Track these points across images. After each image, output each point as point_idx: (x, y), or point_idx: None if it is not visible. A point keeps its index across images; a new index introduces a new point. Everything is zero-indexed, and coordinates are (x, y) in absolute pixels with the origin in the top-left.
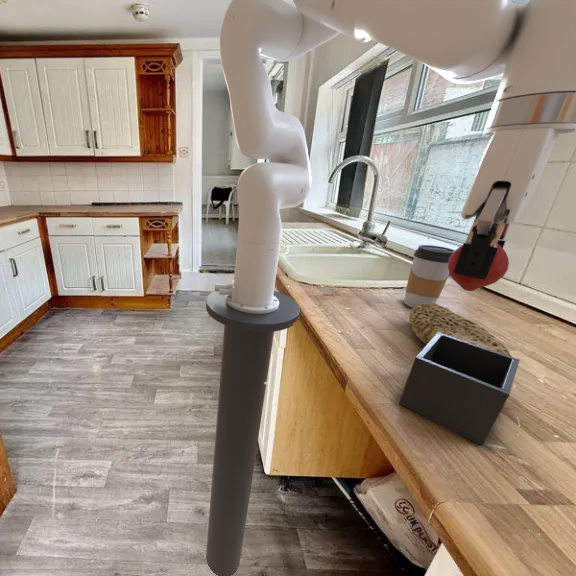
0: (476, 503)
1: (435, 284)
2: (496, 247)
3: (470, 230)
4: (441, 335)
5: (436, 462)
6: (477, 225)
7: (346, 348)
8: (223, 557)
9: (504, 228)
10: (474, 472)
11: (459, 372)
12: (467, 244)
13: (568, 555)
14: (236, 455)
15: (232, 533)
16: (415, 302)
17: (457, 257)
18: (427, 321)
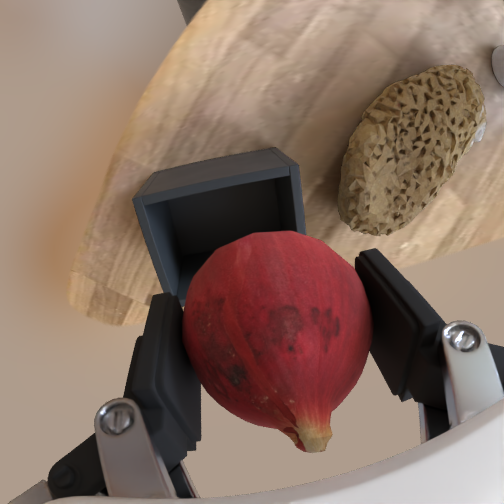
0: (99, 284)
1: None
2: (190, 448)
3: (102, 460)
4: (287, 175)
5: (105, 248)
6: (27, 491)
7: (226, 29)
8: None
9: (423, 437)
10: (130, 270)
11: (159, 257)
12: (138, 397)
13: (123, 325)
14: (184, 6)
15: None
16: (499, 63)
17: (195, 309)
18: (403, 106)
